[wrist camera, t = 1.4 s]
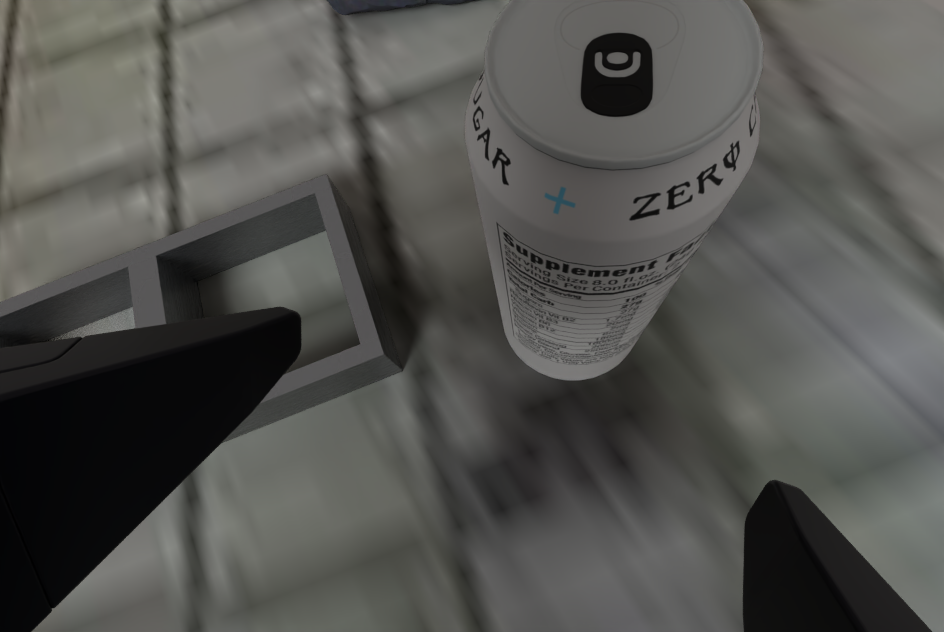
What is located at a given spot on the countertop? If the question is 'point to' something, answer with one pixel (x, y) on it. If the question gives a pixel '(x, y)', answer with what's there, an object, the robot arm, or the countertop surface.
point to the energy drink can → (606, 162)
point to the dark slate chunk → (380, 4)
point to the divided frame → (209, 252)
